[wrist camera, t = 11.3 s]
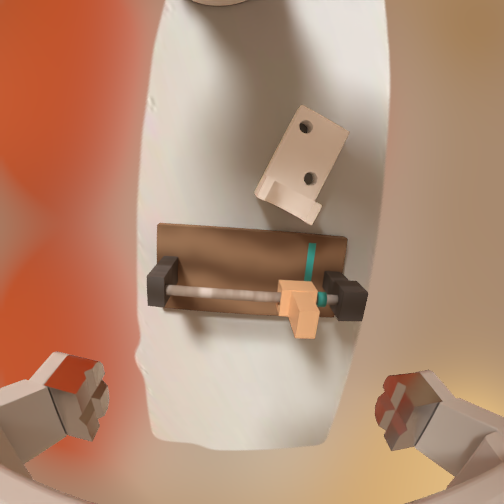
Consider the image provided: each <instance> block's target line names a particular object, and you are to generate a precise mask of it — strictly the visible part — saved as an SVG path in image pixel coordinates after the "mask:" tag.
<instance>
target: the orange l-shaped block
mask: <svg viewBox="0 0 504 504" xmlns="http://www.w3.org/2000/svg"><path fill="white" fill-rule="evenodd" d="M277 292H281V297H280V303H276V307H277V311H278V314H279V316H287V317H288V318H289V321H290V324H291V327H292V330H293V333H294V336H295V338H310V339H315V335H316V330H317V324H318V319H319V314H320V311H319V309H318V307H317V305H316V300H317V294H318V291H317V289H316V288H315V286H314V285H313V283H312V282H311V281H293V280H279V282H278V291H277Z"/></svg>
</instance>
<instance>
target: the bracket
mask: <svg viewBox="0 0 504 504" xmlns="http://www.w3.org/2000/svg"><path fill="white" fill-rule="evenodd" d="M300 124H304V125H305V126H306V127H307V129H308V132H307V134H306V133H303V132H302V131H301V130H300V128H299V125H300ZM349 133H350V132H349V131H347V130H345V129H344V128H342V127H340V126H339V125H337V124H335V123H334V122H332V121H330V120H329V119H327V118H325V117H323V116H322V115H320V114H318V113H316V112H315V111H313V110H311V109H309V108H307V107H305V106H304V105H301V106H300V107H299V108H298V109H297V111H296V113H295V115H294V116H293V118H292V120H291V122H290V124H289V126H288V128H287V130H286V132H285V133H284V135H283V137H282V139H281V141H280V143H279V145H278V147H277V149H276V151H275V153H274V154H273V156H272V158H271V160H270V162H269V164H268V166H267V168H266V170H265V172H264V174H263V176H262V178H261V180H260V182H259V183H258V185H257V187H256V189H255V191H254V194H255V195H256V197H258V198H260V199H262V200H264V201H267V202H269V203H272V204H274V205H276V206H278V207H280V208H282V209H284V210H286V211H287V212H289V213H291V214H293V215H295V216H297V217H298V218H300V219H302V220H303V221H305V222H306V223H308V224H310V225H312V224H313V222H314V220H315V219H316V217H317V215H318V213H319V211H320V209H321V207H322V205H321V204H319V203H317V202H315V200H316V198H317V196H318V194H319V192H320V190H321V188H322V186H323V184H324V182H325V180H326V178H327V177H328V175H329V173H330V171H331V169H332V167H333V165H334V163H335V161H336V159H337V157H338V155H339V153H340V151H341V149H342V147H343V145H344V143H345V141H346V139H347V137H348V135H349ZM308 172H309V173H311V174H312V176H313V181H312V183H311V184H309V185H307V184H306V183H305V182H304V176H305V174H306V173H308Z"/></svg>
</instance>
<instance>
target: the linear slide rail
mask: <svg viewBox="0 0 504 504" xmlns="http://www.w3.org/2000/svg"><path fill="white" fill-rule="evenodd" d="M347 240H348V239H347V238H346V237H343V236H331V235H320V234H308V233H296V232H284V231H271V230H258V229H244V228H230V227H216V226H201V225H185V224H168V223H159V224H158V225H157V265H156V266H155V267H154V268H153V269H152V271H151V272H150V273H149V274H148V275H147V297H148V306H156V307H164V308H174V309H185V310H197V311H210V312H224V313H239V314H256V315H276V316H279V314H278V311H277V307H276V303H280V297H281V292H277V291H278V282H279V280H293V281H311V282H312V283H313V285H314V286H315V288H316V289H317V291H318V294H317V300H316V305H317V307H318V309H319V311H320V314H319V317H334V315H335V316H336V317H337V319H338V321H362V319H363V314H364V310H365V306H366V301H367V297H368V292H367V291H366V290H365V289H364V288H363V287H362V286H361V285H360V284H359V283H358V282H357V281H349V280H348V279H347V278H346V277H345V276H344V275H343V274H342V272H343V266H344V260H345V253H346V247H347Z"/></svg>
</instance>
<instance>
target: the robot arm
mask: <svg viewBox="0 0 504 504" xmlns="http://www.w3.org/2000/svg"><path fill="white" fill-rule="evenodd" d="M192 1H195V2H197V3H201V4H205V5H213V6H224V5H232V4H237V3H241V2H244V1H247V0H192ZM104 374H105V372H104V368H103V364H102V363H101V362H99V361H95V360H90V359H86V358H82V357H78V356H74V355H68V354H65V353H61V352H53V353H52V354H51V355H50V357H49V358H48V359H47V360H46V361H45V363H43V365H42V366H41V367H40V368H39V369H38V370H37V372H36V373H35V374H34V375H33V376H32V377H31V379H30V380H29V381H28V380H22V381H19V382H17V383H14V384H11V385H8V386H5V387H3V388H0V504H96V503H93V502H89V501H86V500H83V499H80V498H77V497H74V496H72V495H69V494H66V493H63V492H61V491H58V490H56V489H53V488H51V487H48V486H46V485H43V484H41V483H39V482H37V481H34V480H33V479H32V476H31V475H30V473H29V472H28V470H27V469H26V468H25V466H24V464H25V463H26V462H28V461H29V460H31V459H33V458H34V457H36V456H37V455H39V454H40V453H42V452H43V451H45V450H46V449H48V448H49V447H51V446H52V445H54V444H55V443H57V442H58V441H60V440H61V439H63V438H64V437H66V435H69V436H73V437H77V438H80V439H84V440H88V441H93V439H94V437H95V435H96V432H97V430H98V428H99V422H98V419H99V418H101V417H103V416H104V415H105V413H106V411H107V409H108V404H109V391H108V386H107V385H106V383H105V382H104V381H103V380H102V378H103V376H104ZM383 388H384V391H385V392H384V393H383V394H382V395H381V396H380V397H378V400H377V403H376V405H375V417H376V421H377V423H378V425H379V426H380V427H382V428H383V429H385V430H386V432H385V434H384V437H385V439H386V441H387V443H388V445H389V447H390V449H391V451H394V450H399V449H404V448H409V447H414V446H415V448H416V449H417V450H419V451H420V452H421V453H423V454H424V455H425V456H427V457H428V458H429V459H431V460H432V461H434V462H435V463H436V464H438V465H439V466H441V467H442V468H443V469H445V470H446V471H448V472H449V473H450V474H452V475H453V476H455V478H454V479H453V480H452V481H451V482H450V484H449V485H448V486H447V488H446V490H443V491H441V492H438V493H435V494H433V495H430V496H427V497H424V498H421V499H418V500H415V501H412V502H409V503H406V504H504V417H502V416H500V415H497V414H495V413H493V412H490V411H488V410H486V409H483V408H481V407H479V406H476V405H474V404H472V403H470V402H468V401H465V400H463V399H461V398H457V399H456V398H455V397H454V396H453V394H452V393H451V392H450V391H449V390H448V389H447V387H446V386H445V385H444V384H443V383H442V381H441V380H440V379H439V378H438V377H437V376H436V374H435V373H434V372H433V371H430V370H425V371H419V372H416V373H408V374H399V375H390V376H388V377H387V378H386V380H385V382H384V384H383Z"/></svg>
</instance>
